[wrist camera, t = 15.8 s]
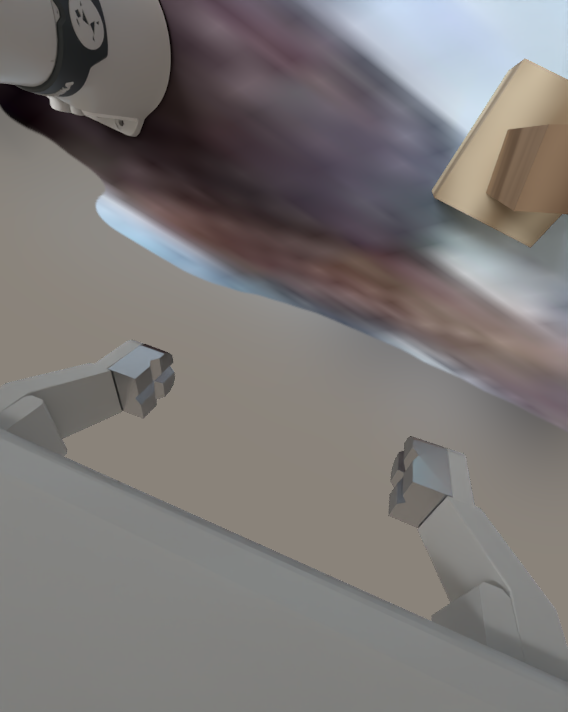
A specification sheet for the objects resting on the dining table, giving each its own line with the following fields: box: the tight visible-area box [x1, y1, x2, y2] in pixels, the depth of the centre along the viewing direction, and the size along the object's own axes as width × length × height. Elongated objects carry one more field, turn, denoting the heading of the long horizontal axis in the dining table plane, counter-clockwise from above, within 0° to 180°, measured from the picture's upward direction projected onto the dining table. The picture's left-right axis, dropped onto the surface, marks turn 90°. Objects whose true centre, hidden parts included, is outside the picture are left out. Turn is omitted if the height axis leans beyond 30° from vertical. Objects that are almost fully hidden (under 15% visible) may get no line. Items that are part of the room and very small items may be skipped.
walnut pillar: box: [486, 124, 568, 214], centre depth 24 cm, size 5×5×10 cm
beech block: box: [432, 59, 568, 248], centre depth 30 cm, size 11×11×6 cm
